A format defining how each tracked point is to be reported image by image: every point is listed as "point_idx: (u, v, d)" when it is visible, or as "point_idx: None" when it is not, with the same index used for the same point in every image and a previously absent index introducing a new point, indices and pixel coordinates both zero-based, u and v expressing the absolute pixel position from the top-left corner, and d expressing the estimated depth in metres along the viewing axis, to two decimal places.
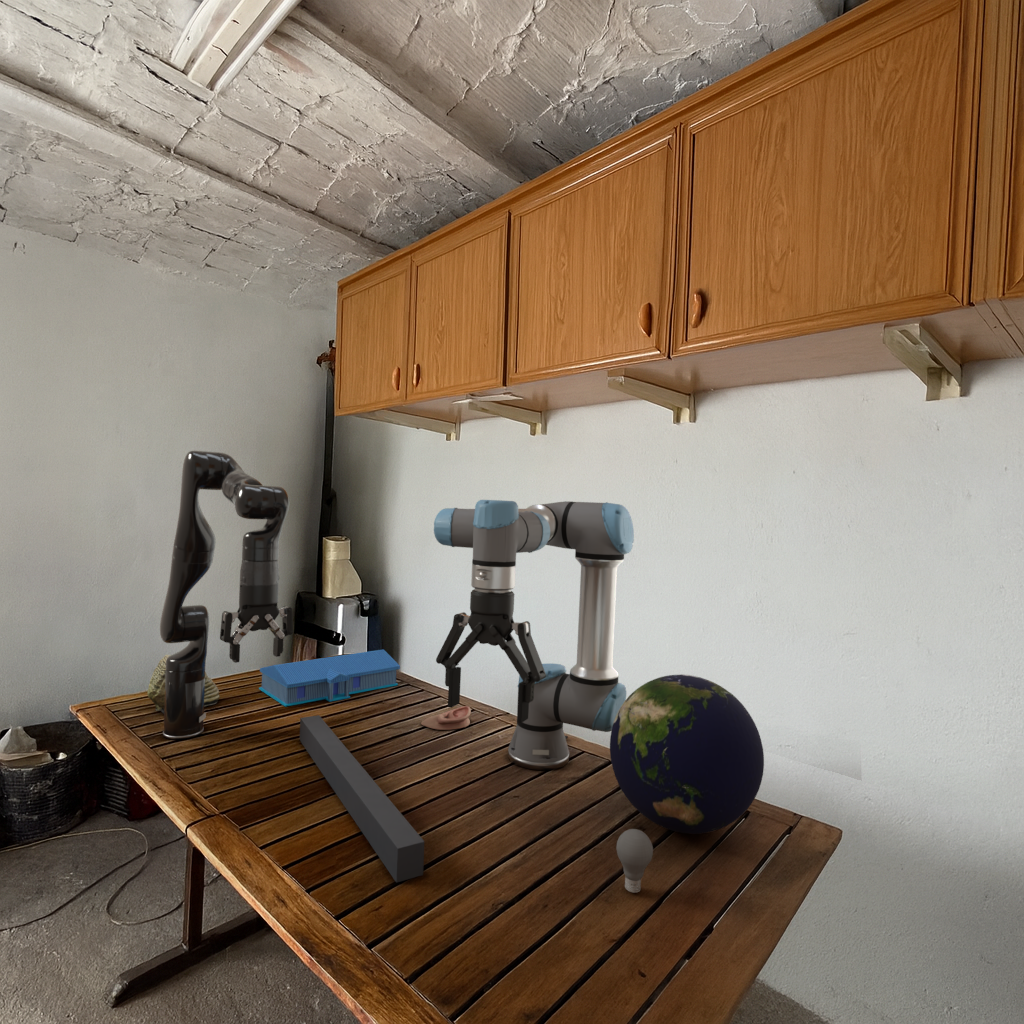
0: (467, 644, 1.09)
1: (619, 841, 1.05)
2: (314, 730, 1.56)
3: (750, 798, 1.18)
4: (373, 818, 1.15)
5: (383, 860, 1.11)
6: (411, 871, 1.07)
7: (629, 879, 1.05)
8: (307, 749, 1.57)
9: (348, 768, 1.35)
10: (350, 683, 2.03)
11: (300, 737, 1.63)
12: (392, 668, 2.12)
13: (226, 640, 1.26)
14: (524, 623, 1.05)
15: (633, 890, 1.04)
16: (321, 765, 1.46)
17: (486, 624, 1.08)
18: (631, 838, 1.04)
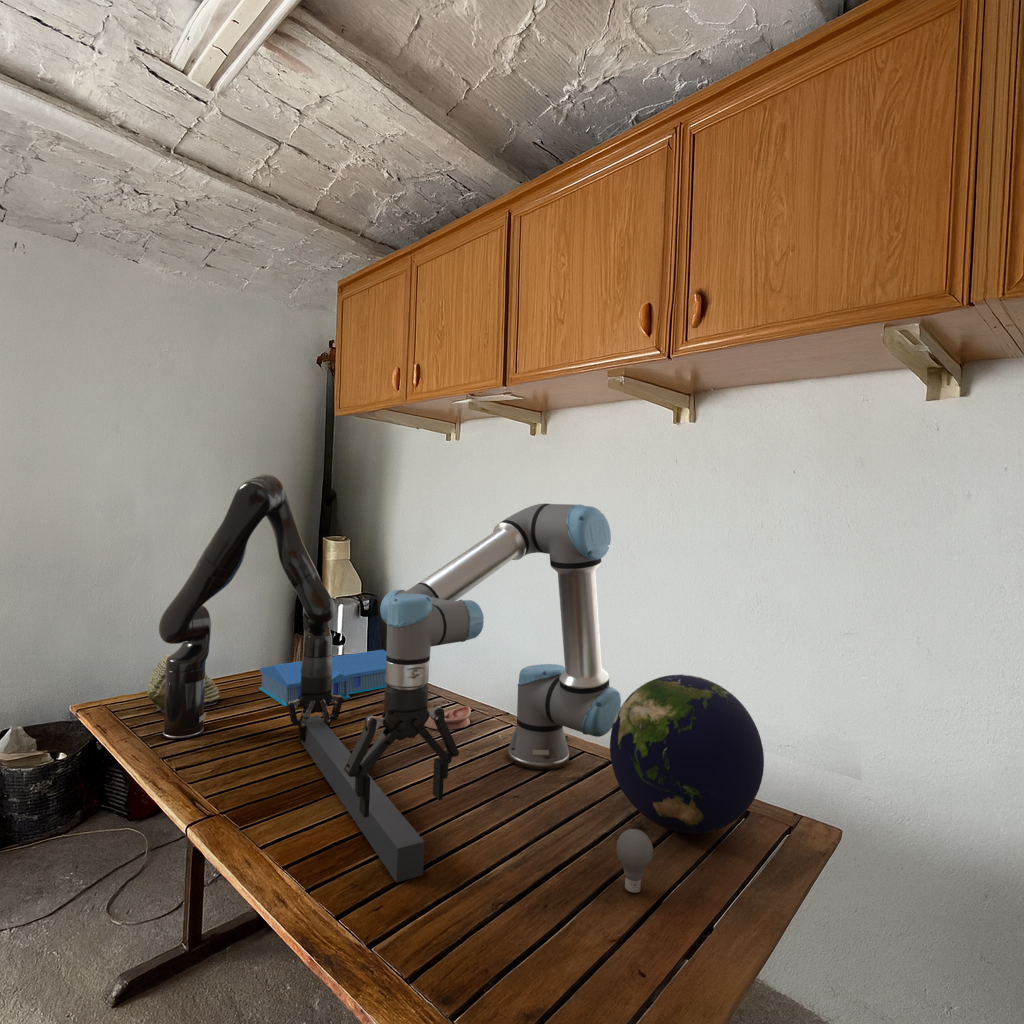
0: (386, 746, 1.07)
1: (619, 841, 1.05)
2: (314, 730, 1.56)
3: (750, 798, 1.18)
4: (373, 818, 1.15)
5: (383, 860, 1.11)
6: (411, 871, 1.07)
7: (629, 879, 1.05)
8: (307, 749, 1.57)
9: None
10: (350, 683, 2.03)
11: None
12: None
13: None
14: None
15: (633, 890, 1.04)
16: (321, 765, 1.46)
17: (406, 719, 1.09)
18: (631, 838, 1.04)
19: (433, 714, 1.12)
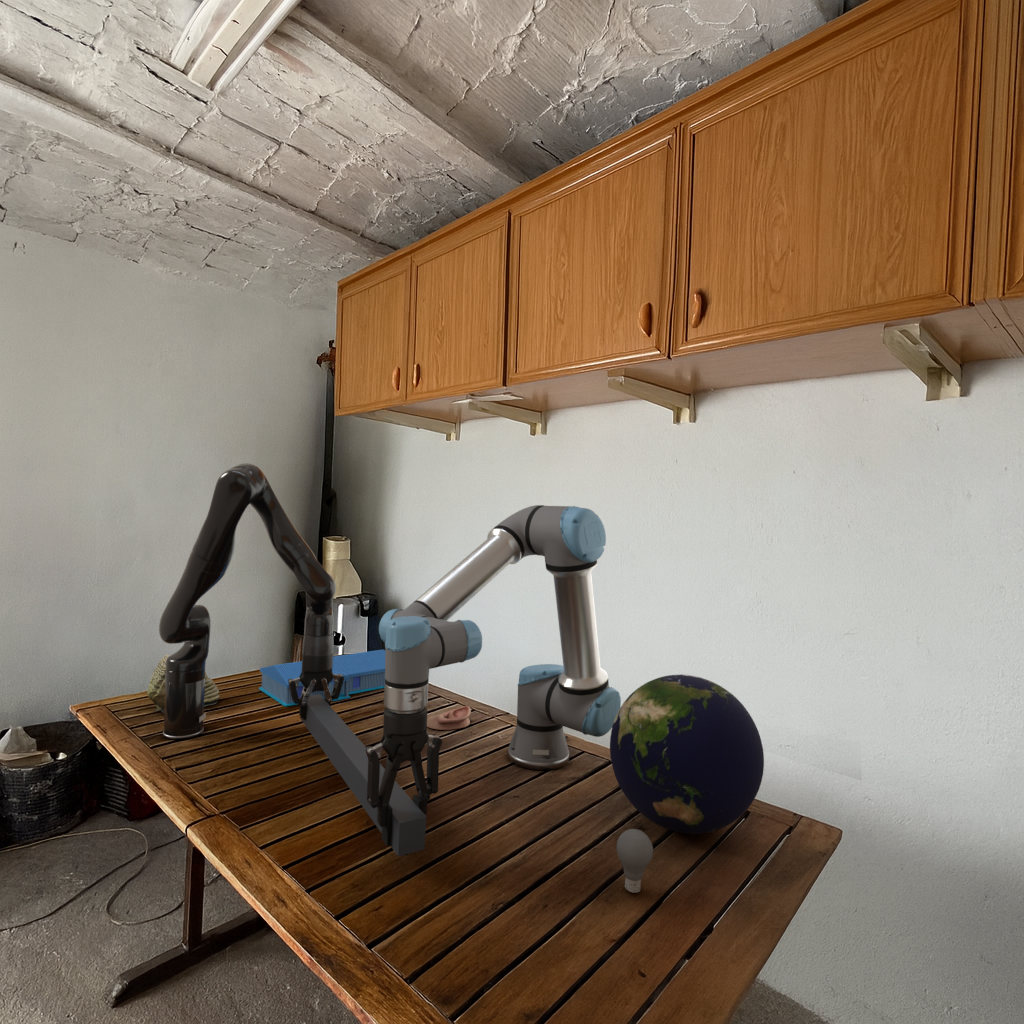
0: (395, 771, 1.08)
1: (619, 841, 1.05)
2: (315, 708, 1.56)
3: (750, 798, 1.18)
4: None
5: None
6: (413, 845, 1.07)
7: (629, 879, 1.05)
8: (308, 727, 1.57)
9: (349, 745, 1.35)
10: (350, 683, 2.03)
11: None
12: None
13: None
14: (440, 738, 1.13)
15: (633, 890, 1.04)
16: (322, 743, 1.46)
17: (405, 742, 1.09)
18: (631, 838, 1.04)
19: (431, 741, 1.13)
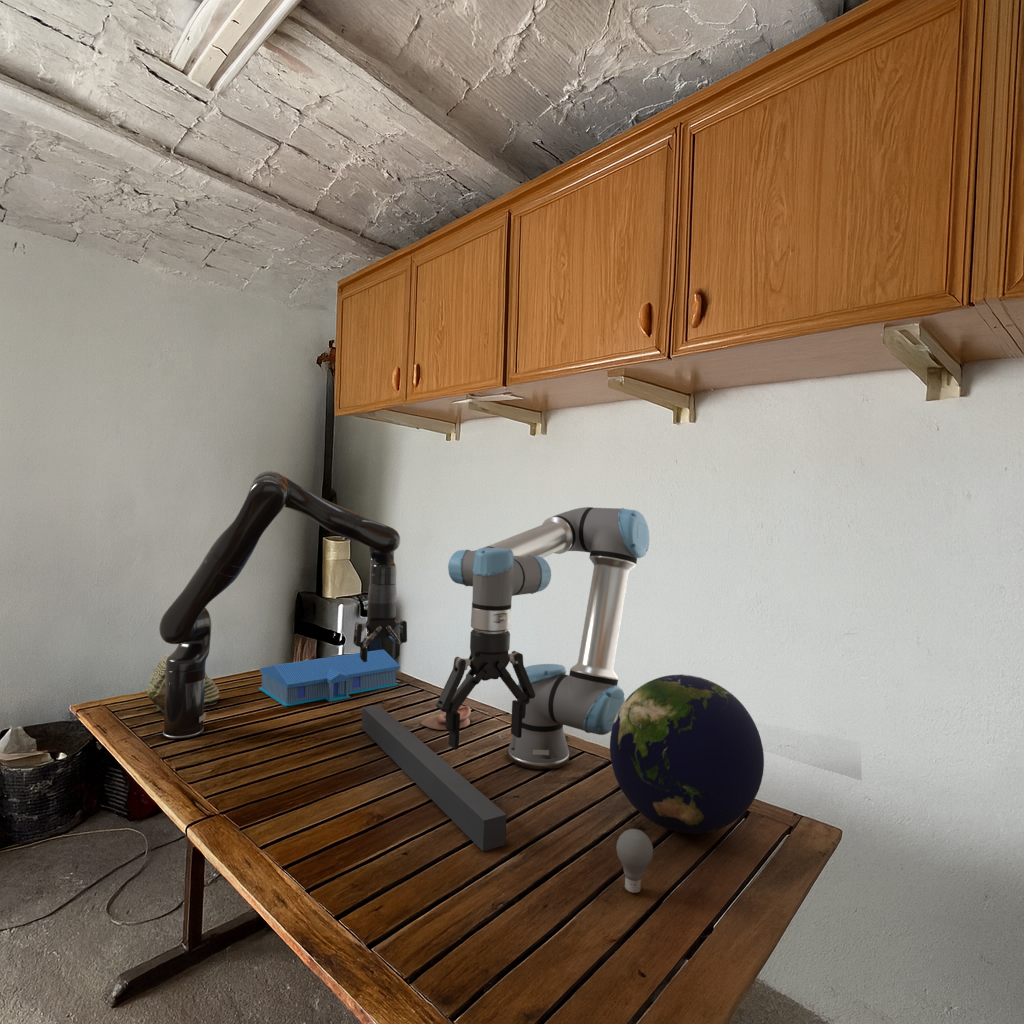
0: (473, 685, 1.17)
1: (619, 841, 1.05)
2: (379, 718, 1.66)
3: (750, 798, 1.18)
4: (454, 795, 1.26)
5: (466, 832, 1.21)
6: (495, 841, 1.17)
7: (629, 879, 1.05)
8: (371, 736, 1.67)
9: (420, 751, 1.45)
10: (350, 683, 2.03)
11: (362, 725, 1.73)
12: (392, 668, 2.12)
13: None
14: (519, 653, 1.23)
15: (633, 890, 1.04)
16: (389, 750, 1.56)
17: (490, 662, 1.19)
18: (631, 838, 1.04)
19: (513, 658, 1.22)
